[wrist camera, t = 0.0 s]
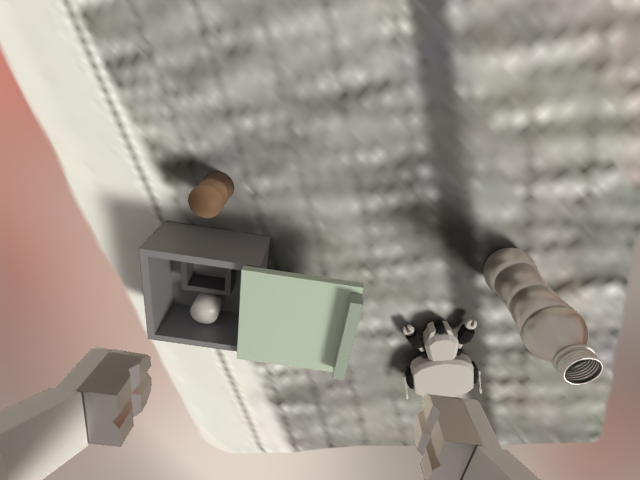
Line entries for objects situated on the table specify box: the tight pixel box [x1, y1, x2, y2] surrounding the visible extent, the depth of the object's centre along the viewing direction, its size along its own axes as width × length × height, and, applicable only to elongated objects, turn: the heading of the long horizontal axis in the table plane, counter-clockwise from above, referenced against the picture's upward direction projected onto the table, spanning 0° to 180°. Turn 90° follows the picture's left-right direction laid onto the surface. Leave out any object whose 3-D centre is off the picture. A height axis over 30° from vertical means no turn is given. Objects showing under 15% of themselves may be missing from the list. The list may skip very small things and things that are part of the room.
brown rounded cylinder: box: [188, 171, 234, 218], centre depth 47 cm, size 4×4×6 cm
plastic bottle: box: [483, 248, 603, 385], centre depth 44 cm, size 6×7×20 cm
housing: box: [139, 221, 270, 351], centre depth 52 cm, size 15×15×8 cm
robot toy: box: [402, 319, 482, 399], centre depth 60 cm, size 12×4×15 cm
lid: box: [237, 265, 364, 380], centre depth 48 cm, size 15×15×3 cm
